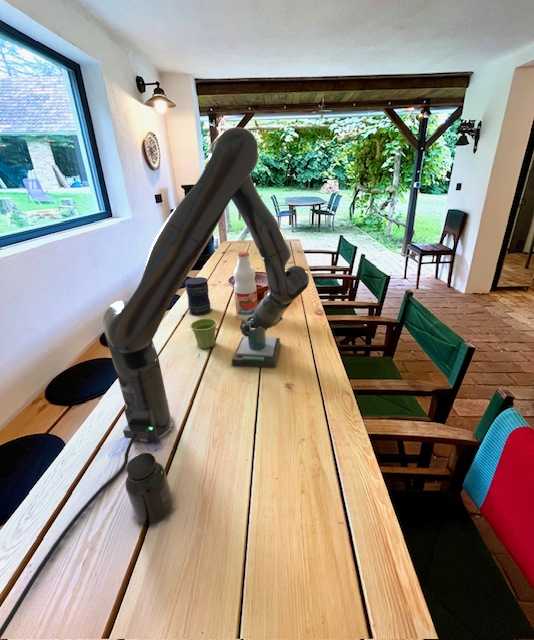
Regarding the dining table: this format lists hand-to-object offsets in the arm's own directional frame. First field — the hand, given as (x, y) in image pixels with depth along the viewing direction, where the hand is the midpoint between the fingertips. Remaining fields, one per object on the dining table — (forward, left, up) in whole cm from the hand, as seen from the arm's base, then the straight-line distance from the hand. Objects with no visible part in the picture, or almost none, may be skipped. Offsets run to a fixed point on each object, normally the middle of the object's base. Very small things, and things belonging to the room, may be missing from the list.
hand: (254, 331), depth 110 cm
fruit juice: (+31, +9, -8) cm, 33 cm away
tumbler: (-1, -1, -5) cm, 5 cm away
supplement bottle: (-59, +9, -8) cm, 61 cm away
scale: (-1, -1, -8) cm, 8 cm away
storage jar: (+35, +32, -8) cm, 48 cm away
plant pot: (+4, +19, -8) cm, 21 cm away
